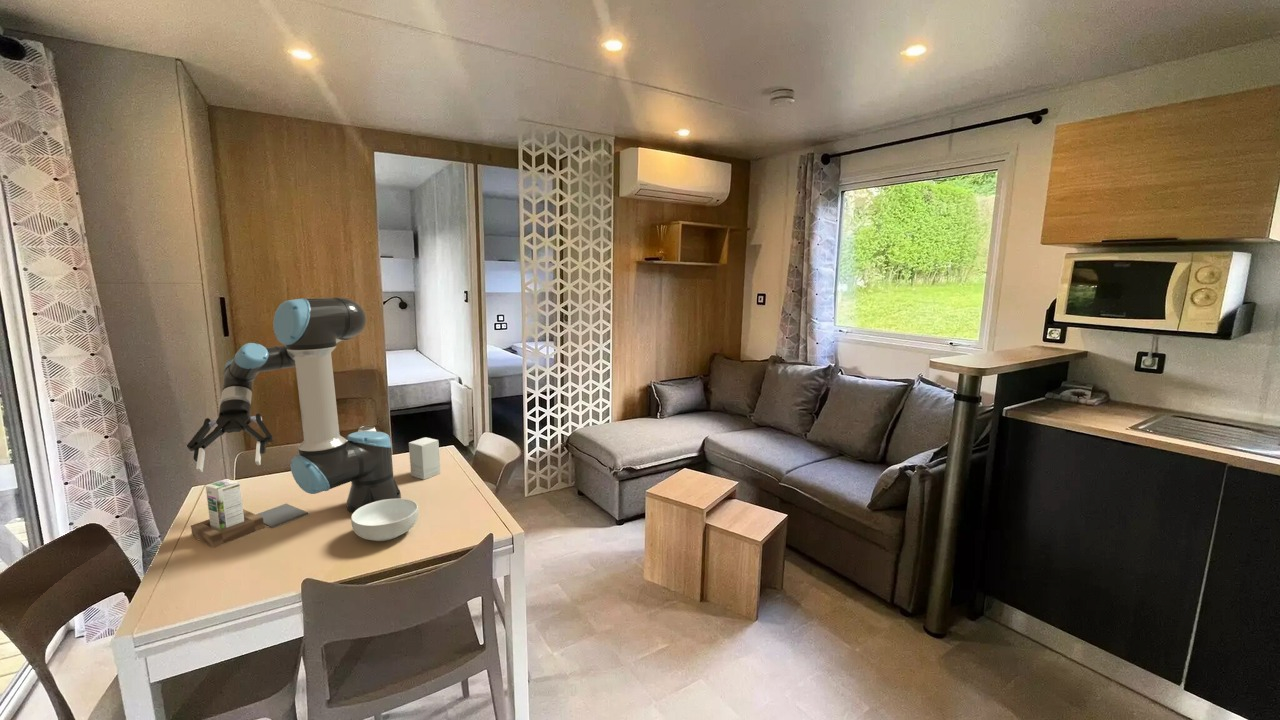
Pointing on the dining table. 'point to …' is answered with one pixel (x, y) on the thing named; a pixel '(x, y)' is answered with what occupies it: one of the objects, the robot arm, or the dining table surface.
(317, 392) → the robot arm
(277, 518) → the mat
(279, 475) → the dining table surface
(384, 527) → the cereal bowl
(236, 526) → the pocket
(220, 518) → the syrup box
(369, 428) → the can
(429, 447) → the supplement box
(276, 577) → the dining table surface
